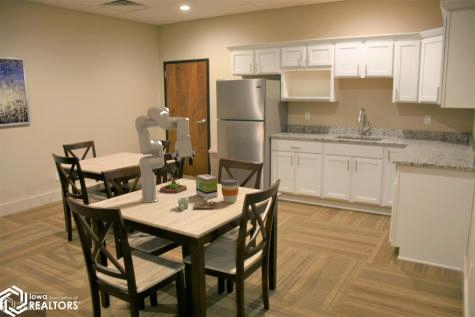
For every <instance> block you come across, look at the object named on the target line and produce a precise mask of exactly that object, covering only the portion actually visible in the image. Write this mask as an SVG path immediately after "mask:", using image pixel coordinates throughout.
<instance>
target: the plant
mask: <svg viewBox="0 0 475 317" xmlns="http://www.w3.org/2000/svg"><path fill="white" fill-rule="evenodd" d="M176 180H177V181H178V180H179V178H178V177H175V178H174V177H173V176H172V177H171V178H168V179H167V184H166V185H164V186H162V187H160V188H159V192H161V193H164V194H179V193H183V192H185V191H187V190H188V186H187V185H183V184H180V182H177V181H176ZM169 181H170V182H169Z"/></svg>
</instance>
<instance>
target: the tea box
mask: <svg viewBox="0 0 475 317" xmlns="http://www.w3.org/2000/svg"><path fill="white" fill-rule="evenodd" d="M195 194H196V196H199V197H202V198H207V200H209V199H212V198H213V197H214V198H218V177H216V176H214V175H211V174H208V173H206V174H201V175H200V174H198V175H195ZM208 198H209V199H208Z"/></svg>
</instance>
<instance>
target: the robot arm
mask: <svg viewBox="0 0 475 317" xmlns="http://www.w3.org/2000/svg"><path fill="white" fill-rule="evenodd" d="M134 126H135V130H136V132H137V137H138V143H139V144H138V145H139V146H138V147H139V151H140V153H141V154H142V155H147V156H142V157H140V159H139V161H138V165H139V168H140V177H141V178H140V179H141V180H140V181H141V195H142V197H141V198H140V199H139V200H140V202H141V203H145V204H149V203H156V202H158V201H159V197H158V196H157V187H156V186H157V185H156V174H155V172H153V171H154V170H157V169H162V168H163V167H164V165H165V156H164V148H163V147H164V146H163V144H162V141H160V140H159V139H152V134H151V132H150V130H149V129H148V128H161V129H163V130H164V131H165V130H166V131H171V130H176V140H175V145H174V146H175V147H174V152H172V154H171V157H172V159H173V161H175V167H176V168H178V169H180V166H181V164H180V163H181V162H180V160H181V159H182V158H188V165H189V166H191V167H192V166H193V163H194V161H193V160H194V158H195V156H196V152H197V151H196V150H193V148H192V141H191V138H192V136H191V135H190V119H189V118H188V117H181V116H172V117H171V116H170V111H169V108H168V107H167V106H151V107H149V108H148V109H147V111H146V114H143V115H139V116H137V117H136V118H135V121H134ZM152 154H153V155H152Z"/></svg>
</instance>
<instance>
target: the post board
mask: <svg viewBox="0 0 475 317" xmlns="http://www.w3.org/2000/svg"><path fill="white" fill-rule="evenodd" d="M216 204H217V202H216V201H213V206H211V201H208V199H207V198H204V197H202V201H195V202H194V205H193V210H199V211H201V210H203V211H204V210H216Z"/></svg>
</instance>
